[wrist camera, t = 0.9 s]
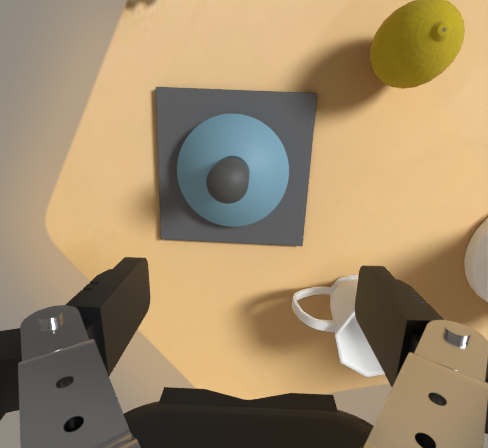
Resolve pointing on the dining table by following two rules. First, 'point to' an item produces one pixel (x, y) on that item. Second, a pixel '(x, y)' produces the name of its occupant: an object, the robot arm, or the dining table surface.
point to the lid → (233, 170)
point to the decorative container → (478, 261)
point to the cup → (342, 325)
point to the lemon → (417, 43)
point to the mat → (250, 104)
